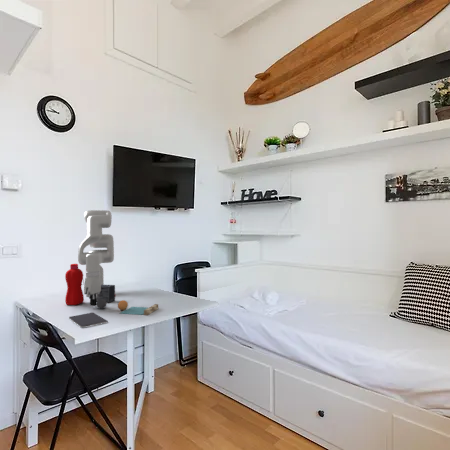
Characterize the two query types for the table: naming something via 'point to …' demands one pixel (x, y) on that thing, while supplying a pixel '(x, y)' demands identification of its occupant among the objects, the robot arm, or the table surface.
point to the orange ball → (122, 305)
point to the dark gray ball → (101, 304)
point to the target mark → (135, 310)
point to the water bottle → (74, 285)
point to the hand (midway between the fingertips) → (93, 305)
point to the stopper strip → (151, 309)
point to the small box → (107, 293)
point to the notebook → (87, 319)
